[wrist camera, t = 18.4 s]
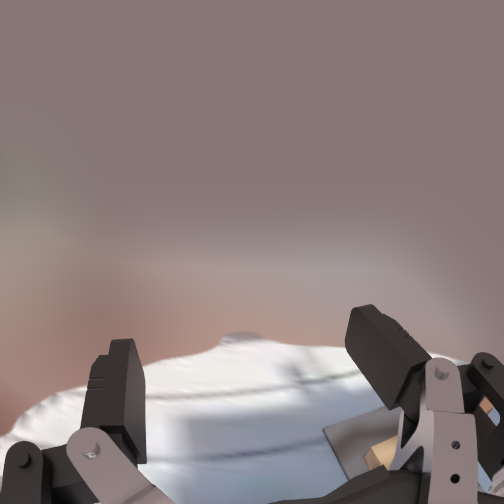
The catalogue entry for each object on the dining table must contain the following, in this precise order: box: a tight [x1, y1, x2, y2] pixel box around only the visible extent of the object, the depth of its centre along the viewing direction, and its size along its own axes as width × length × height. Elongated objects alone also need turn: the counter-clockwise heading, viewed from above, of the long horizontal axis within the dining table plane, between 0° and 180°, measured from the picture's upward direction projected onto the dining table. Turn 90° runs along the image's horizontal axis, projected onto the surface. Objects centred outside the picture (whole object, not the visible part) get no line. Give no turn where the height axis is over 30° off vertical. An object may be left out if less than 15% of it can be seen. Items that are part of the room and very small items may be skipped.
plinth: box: [323, 406, 485, 493], centre depth 26 cm, size 24×16×4 cm, turn 14°
